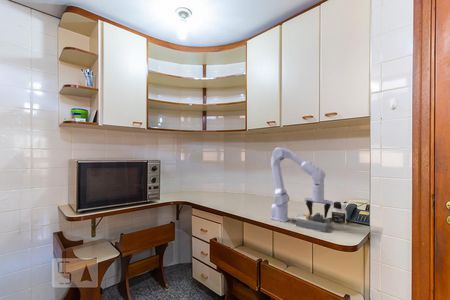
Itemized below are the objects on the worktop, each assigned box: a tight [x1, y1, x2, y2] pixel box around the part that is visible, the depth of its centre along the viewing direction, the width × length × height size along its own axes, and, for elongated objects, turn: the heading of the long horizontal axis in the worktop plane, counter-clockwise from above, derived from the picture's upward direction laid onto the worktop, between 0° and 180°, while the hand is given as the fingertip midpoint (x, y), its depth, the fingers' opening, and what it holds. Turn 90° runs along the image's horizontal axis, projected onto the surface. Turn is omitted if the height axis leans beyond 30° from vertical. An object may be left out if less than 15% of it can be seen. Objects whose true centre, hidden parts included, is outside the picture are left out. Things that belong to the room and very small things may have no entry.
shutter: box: [294, 212, 312, 220], centre depth 128 cm, size 7×7×3 cm
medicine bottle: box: [331, 201, 348, 226], centre depth 130 cm, size 7×7×12 cm
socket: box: [296, 214, 332, 233], centre depth 124 cm, size 15×12×4 cm
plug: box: [313, 212, 324, 223], centre depth 122 cm, size 4×4×7 cm
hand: (318, 216), depth 122 cm, fingers open, 7 cm apart
